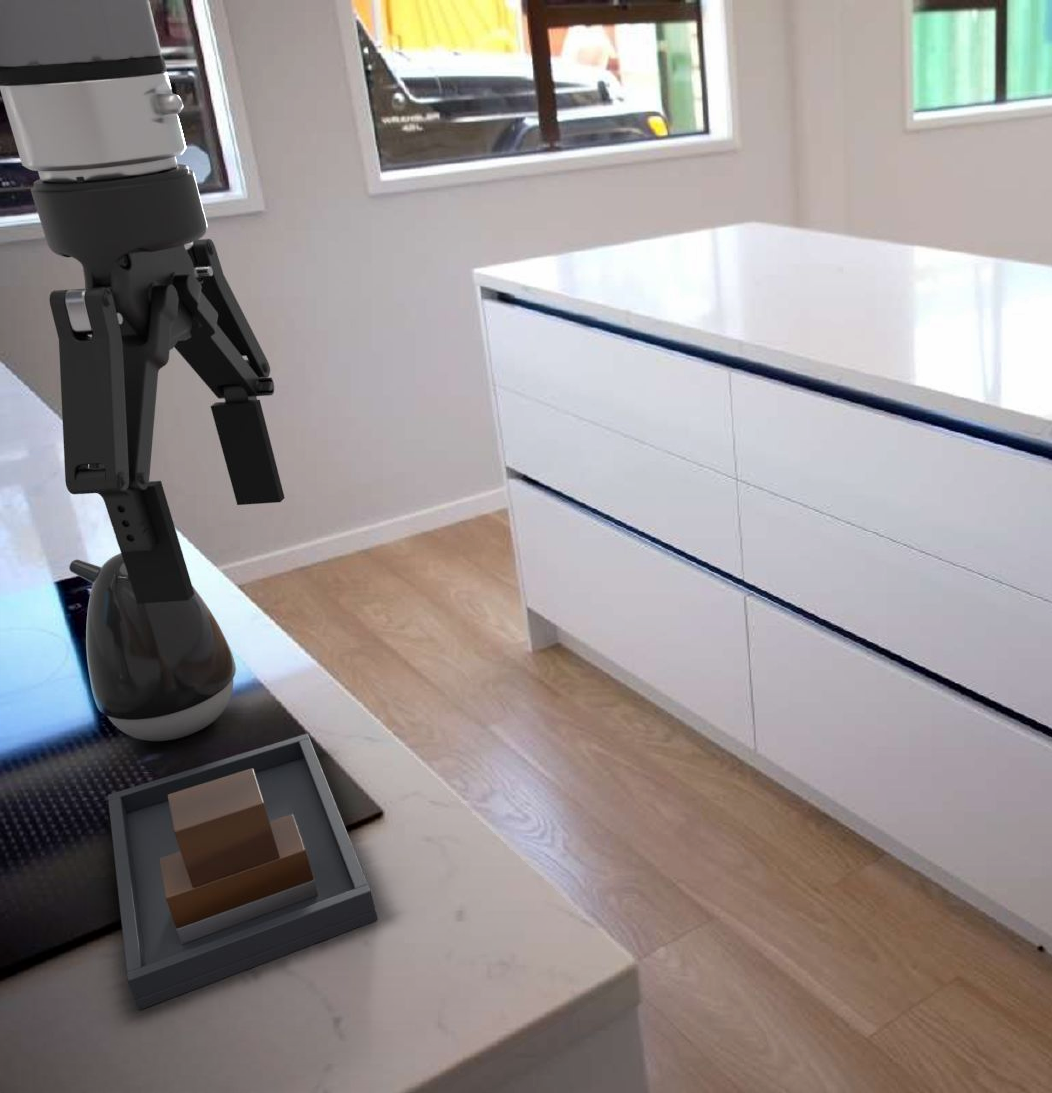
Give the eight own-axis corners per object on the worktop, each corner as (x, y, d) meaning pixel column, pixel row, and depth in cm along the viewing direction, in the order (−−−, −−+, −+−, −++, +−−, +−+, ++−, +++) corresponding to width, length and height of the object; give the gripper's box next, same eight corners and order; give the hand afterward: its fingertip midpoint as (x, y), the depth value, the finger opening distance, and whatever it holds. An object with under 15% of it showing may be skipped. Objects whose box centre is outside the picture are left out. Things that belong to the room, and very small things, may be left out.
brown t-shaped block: (318, 895, 79) (290, 793, 76) (181, 945, 76) (145, 840, 72) (305, 857, 83) (278, 759, 79) (174, 903, 79) (140, 802, 76)
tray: (378, 919, 78) (370, 890, 77) (138, 1010, 72) (127, 980, 71) (314, 758, 95) (307, 732, 94) (116, 820, 89) (107, 794, 88)
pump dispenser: (165, 686, 106) (113, 524, 100) (272, 694, 104) (227, 528, 98) (77, 754, 97) (15, 579, 91) (193, 763, 95) (138, 585, 89)
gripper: (57, 203, 52) (192, 645, 61) (272, 136, 75) (348, 465, 84) (-123, 214, 52) (38, 656, 61) (147, 144, 75) (236, 473, 84)
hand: (217, 546), depth 72 cm, fingers open, 13 cm apart
